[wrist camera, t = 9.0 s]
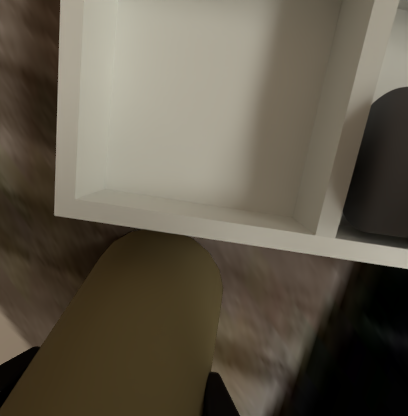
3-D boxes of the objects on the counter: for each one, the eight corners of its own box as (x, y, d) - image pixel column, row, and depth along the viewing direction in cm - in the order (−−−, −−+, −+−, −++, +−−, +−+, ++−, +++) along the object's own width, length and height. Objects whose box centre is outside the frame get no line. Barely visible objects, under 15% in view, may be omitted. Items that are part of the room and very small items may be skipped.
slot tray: (561, 37, 9) (753, -27, 6) (475, 253, 11) (588, 296, 8) (116, -34, 9) (64, -138, 6) (101, 196, 11) (54, 215, 8)
